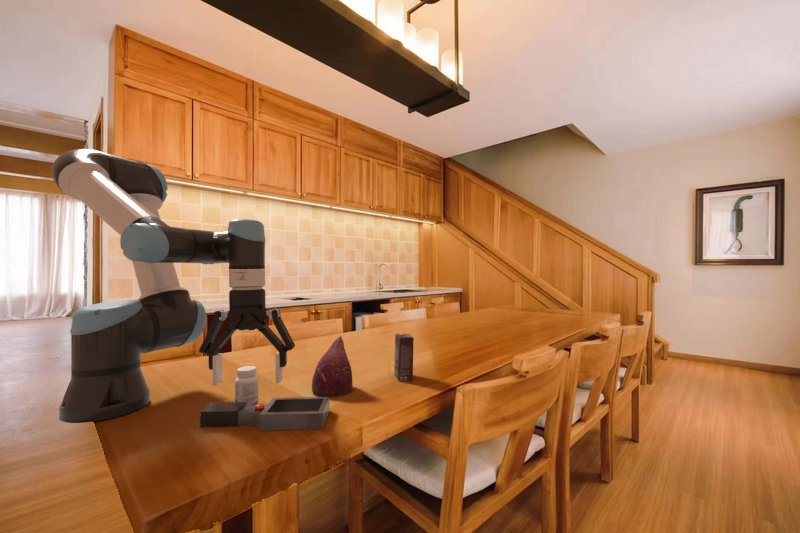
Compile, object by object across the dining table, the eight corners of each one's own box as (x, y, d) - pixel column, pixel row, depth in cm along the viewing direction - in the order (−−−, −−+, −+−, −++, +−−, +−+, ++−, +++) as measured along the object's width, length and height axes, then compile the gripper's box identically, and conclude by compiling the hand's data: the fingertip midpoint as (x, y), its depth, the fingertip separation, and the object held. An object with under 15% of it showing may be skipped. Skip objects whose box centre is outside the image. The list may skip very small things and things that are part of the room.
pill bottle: (262, 401, 79) (262, 365, 79) (251, 410, 74) (251, 371, 74) (242, 401, 80) (242, 365, 80) (230, 409, 75) (230, 371, 75)
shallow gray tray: (194, 432, 65) (194, 415, 65) (216, 413, 73) (216, 398, 73) (322, 428, 66) (322, 412, 66) (329, 410, 74) (329, 395, 75)
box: (414, 380, 95) (414, 337, 95) (398, 381, 94) (398, 337, 94) (408, 373, 101) (408, 333, 101) (393, 374, 100) (394, 333, 100)
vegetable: (336, 393, 94) (344, 337, 98) (359, 398, 86) (366, 338, 90) (302, 392, 87) (311, 333, 91) (324, 398, 79) (333, 333, 83)
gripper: (180, 290, 73) (181, 390, 72) (299, 288, 74) (300, 385, 74) (199, 288, 80) (200, 379, 80) (306, 286, 82) (307, 375, 81)
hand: (248, 382), depth 77 cm, fingers open, 13 cm apart
